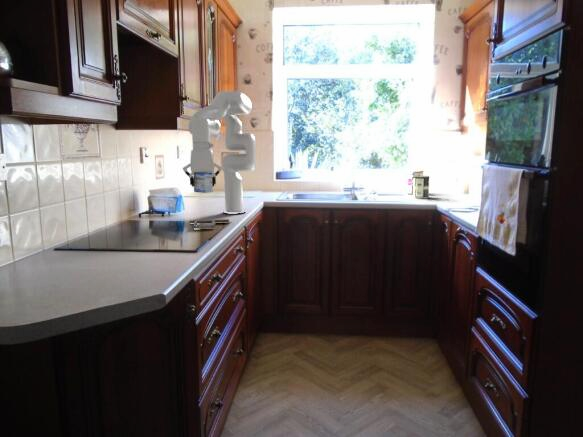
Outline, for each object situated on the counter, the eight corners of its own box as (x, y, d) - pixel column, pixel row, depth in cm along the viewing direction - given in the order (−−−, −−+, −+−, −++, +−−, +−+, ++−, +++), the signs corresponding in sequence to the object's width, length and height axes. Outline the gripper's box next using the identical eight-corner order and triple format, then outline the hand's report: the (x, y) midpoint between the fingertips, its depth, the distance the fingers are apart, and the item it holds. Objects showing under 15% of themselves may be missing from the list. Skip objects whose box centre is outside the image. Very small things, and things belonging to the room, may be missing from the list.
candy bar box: (412, 194, 313) (413, 171, 310) (406, 194, 317) (407, 170, 314) (422, 193, 319) (423, 170, 317) (417, 192, 323) (417, 170, 321)
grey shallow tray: (195, 225, 207) (195, 220, 207) (214, 224, 208) (214, 220, 208) (193, 230, 194) (192, 226, 194) (214, 229, 196) (213, 225, 195)
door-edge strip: (190, 224, 208) (189, 220, 208) (229, 223, 211) (228, 219, 210) (189, 225, 207) (189, 220, 207) (229, 223, 210) (228, 219, 209)
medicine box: (193, 192, 200) (192, 172, 199) (201, 191, 203) (200, 172, 202) (205, 193, 195) (204, 173, 194) (213, 192, 199) (212, 172, 197)
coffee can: (426, 196, 302) (426, 175, 300) (430, 198, 292) (431, 176, 289) (410, 196, 302) (411, 175, 300) (414, 198, 292) (415, 176, 290)
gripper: (221, 146, 201) (223, 185, 204) (182, 146, 199) (183, 186, 201) (221, 146, 194) (222, 186, 196) (180, 146, 191) (182, 187, 194)
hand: (203, 186), depth 199 cm, fingers closed on medicine box, 8 cm apart
